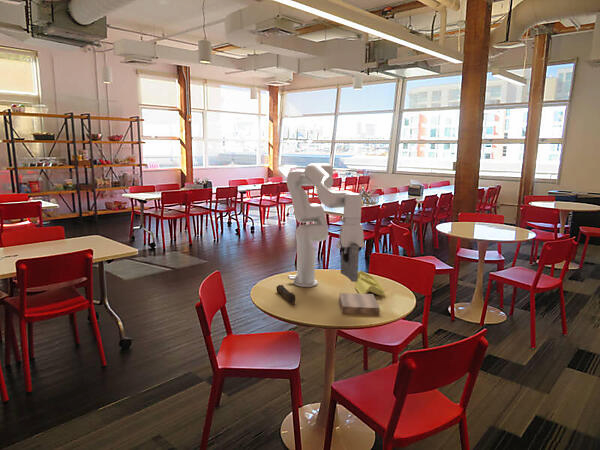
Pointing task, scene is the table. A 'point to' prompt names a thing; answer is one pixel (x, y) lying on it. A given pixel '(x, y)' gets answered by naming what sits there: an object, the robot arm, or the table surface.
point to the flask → (351, 263)
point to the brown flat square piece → (358, 303)
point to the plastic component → (368, 284)
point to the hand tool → (286, 294)
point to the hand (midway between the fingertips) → (350, 261)
